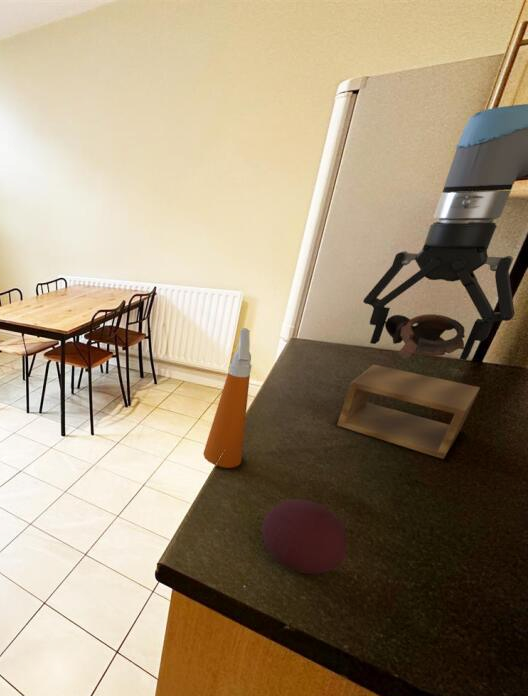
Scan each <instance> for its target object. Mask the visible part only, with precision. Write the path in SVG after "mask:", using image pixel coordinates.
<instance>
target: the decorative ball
mask: <svg viewBox="0 0 528 696" xmlns="http://www.w3.org/2000/svg"><path fill="white" fill-rule="evenodd" d="M261 531H262V538H263V541H264V544H265V546H266V548H267V549H268V551H269V552H270V554H271V555H272V556H273V557H274V558H275V559H276V560H277V562H279V563H280V564H282V565H284V566H285V567H286V568H288V569H290V570H293V571H295V572H298V573H301V574H305V575H306V574H307V575H320V574H325V573H328V572H331V571H333V570H335V569H336V568H337V567H339V565H341V564H342V563H343V561H344V560H345V558H346V556H347V554H348V550H349V549H348V548H349V539H348V534H347V532H346V529H345V526H344V525H343V524H342V522H341V521H340V519H339V518H338V516H336V515H335V513H333V512H332V511H330V510H329V509H328V508H327V507H325V506H323V505H322V504H320V503H317V502H314V501H312V500H307V499H300V498H299V499H298V498H295V499H294V498H293V499H286V500H283V501H280V502H278V503H276V504H275V505H273V506H272V507H271V508H270V509H269V510H268V511H267V513H266V514H265V516H264V518H263V521H262V525H261Z"/></svg>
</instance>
